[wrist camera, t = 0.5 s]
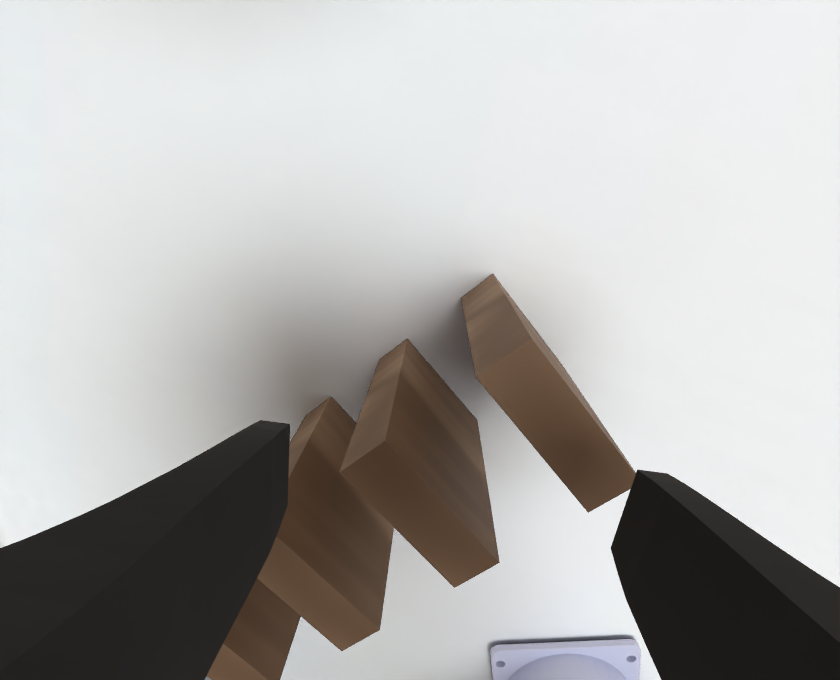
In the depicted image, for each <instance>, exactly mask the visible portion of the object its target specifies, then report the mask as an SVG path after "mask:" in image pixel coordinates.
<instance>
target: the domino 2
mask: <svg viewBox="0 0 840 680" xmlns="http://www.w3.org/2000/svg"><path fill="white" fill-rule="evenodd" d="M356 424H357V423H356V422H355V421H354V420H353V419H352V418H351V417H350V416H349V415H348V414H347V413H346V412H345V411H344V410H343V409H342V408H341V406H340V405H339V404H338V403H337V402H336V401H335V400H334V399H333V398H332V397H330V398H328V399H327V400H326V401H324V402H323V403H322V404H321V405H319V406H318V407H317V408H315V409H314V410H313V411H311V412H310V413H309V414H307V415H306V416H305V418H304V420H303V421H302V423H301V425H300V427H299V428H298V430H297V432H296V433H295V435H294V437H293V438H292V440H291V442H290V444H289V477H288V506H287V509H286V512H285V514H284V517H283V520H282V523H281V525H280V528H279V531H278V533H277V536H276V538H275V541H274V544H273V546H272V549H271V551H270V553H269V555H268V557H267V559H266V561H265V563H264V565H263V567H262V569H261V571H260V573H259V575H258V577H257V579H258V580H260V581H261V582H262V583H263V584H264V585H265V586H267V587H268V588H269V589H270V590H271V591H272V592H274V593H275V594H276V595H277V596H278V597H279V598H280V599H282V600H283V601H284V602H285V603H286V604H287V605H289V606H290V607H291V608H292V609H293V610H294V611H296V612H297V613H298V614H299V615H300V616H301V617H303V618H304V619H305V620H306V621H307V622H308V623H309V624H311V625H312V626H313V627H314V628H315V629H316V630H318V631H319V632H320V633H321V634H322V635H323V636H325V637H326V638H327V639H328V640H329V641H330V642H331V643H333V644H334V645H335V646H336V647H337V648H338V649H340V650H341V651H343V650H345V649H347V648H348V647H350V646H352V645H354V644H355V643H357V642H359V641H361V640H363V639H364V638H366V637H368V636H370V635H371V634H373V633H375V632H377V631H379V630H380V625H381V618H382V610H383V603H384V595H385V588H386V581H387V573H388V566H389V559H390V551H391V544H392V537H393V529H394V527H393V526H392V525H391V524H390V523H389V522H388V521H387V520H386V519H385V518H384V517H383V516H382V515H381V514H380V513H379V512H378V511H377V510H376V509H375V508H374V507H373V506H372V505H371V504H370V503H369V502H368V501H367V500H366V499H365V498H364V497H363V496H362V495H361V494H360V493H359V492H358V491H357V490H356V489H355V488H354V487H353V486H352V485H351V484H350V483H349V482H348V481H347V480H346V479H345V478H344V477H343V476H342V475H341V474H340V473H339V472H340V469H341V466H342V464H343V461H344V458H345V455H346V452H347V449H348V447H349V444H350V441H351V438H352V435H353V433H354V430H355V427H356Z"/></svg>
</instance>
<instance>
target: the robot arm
mask: <svg viewBox="0 0 840 680" xmlns="http://www.w3.org/2000/svg"><path fill="white" fill-rule="evenodd" d="M289 438H290V424H285V423H277V422H270V421H262V420H260V421H258V422H256V423H254V424H252V425H251V426H249V427H247V428H245V429H243V430H242V431H240V432H238V433H236V434H235V435H233V436H231V437H229V438H228V439H226V440H224V441H223V442H221V443H219V444H217V445H216V446H214V447H212V448H210V449H209V450H207V451H205V452H203V453H202V454H200V455H198V456H196V457H194V458H193V459H191V460H189V461H187V462H186V463H184V464H182V465H180V466H179V467H177V468H175V469H173V470H171V471H169V472H167V473H165V474H163V475H161V476H159V477H158V478H156V479H154V480H152V481H150V482H148V483H146V484H144V485H142V486H140V487H138V488H136V489H134V490H132V491H130V492H128V493H126V494H124V495H123V496H121V497H119V498H117V499H115V500H113V501H110V502H108V503H106V504H104V505H102V506H100V507H98V508H96V509H93V510H91V511H89V512H87V513H85V514H82V515H80V516H78V517H76V518H73V519H71V520H69V521H66V522H64V523H62V524H59V525H57V526H55V527H52V528H50V529H48V530H45V531H43V532H41V533H38V534H36V535H33V536H31V537H28V538H26V539H24V540H21V541H19V542H16V543H13V544H11V545H8V546H5V547H2V548H0V680H205V678H206V676H207V674H208V672H209V670H210V668H211V666H212V664H213V662H214V660H215V658H216V656H217V654H218V652H219V650H220V649H221V647H222V645H223V643H224V641H225V639H226V637H227V635H228V633H229V631H230V629H231V627H232V625H233V624H234V622H235V620H236V618H237V616H238V614H239V612H240V610H241V608H242V606H243V604H244V602H245V600H246V599H247V597H248V595H249V593H250V591H251V589H252V587H253V585H254V583H255V581H256V579H257V577H258V575H259V573H260V571H261V569H262V567H263V565H264V563H265V561H266V559H267V557H268V555H269V553H270V551H271V549H272V546H273V544H274V541H275V538H276V536H277V533H278V531H279V528H280V525H281V523H282V520H283V517H284V514H285V512H286V509H287V506H288V477H289ZM611 550H612V554H613V557H614V561H615V564H616V568H617V572H618V575H619V578H620V581H621V585H622V588H623V591H624V594H625V597H626V600H627V602H628V605H629V607H630V609H631V612H632V614H633V616H634V619H635V621H636V623H637V625H638V628H639V630H640V632H641V635H642V637H643V639H644V642H645V644H646V646H647V648H648V651H649V653H650V655H651V657H652V659H653V662H654V664H655V666H656V668H657V671H658V673H659V675H660V677H661V680H840V587H838V586H836V585H835V584H833V583H832V582H830V581H829V580H827V579H825V578H824V577H822V576H821V575H819V574H818V573H816V572H815V571H813V570H812V569H810V568H808V567H807V566H805V565H804V564H802V563H801V562H799V561H798V560H796V559H795V558H793V557H792V556H790V555H789V554H787V553H786V552H784V551H783V550H782V549H780V548H779V547H777V546H776V545H774V544H773V543H771V542H770V541H768V540H767V539H765V538H764V537H762V536H761V535H759V534H758V533H757V532H755V531H754V530H752V529H751V528H749V527H748V526H746V525H745V524H744V523H742V522H741V521H739V520H738V519H736V518H735V517H733V516H732V515H730V514H729V513H728V512H726V511H725V510H723V509H722V508H720V507H719V506H717V505H716V504H714V503H713V502H711V501H710V500H709V499H707V498H706V497H704V496H703V495H701V494H700V493H698V492H697V491H695V490H694V489H692V488H690V487H689V486H687V485H686V484H684V483H682V482H681V481H679V480H678V479H676V478H674V477H672V476H670V475H669V474H666V473H658V472H651V471H643V470H637V472H636V475H635V478H634V481H633V484H632V487H631V490H630V493H629V496H628V499H627V502H626V505H625V508H624V511H623V514H622V516H621V519H620V522H619V525H618V528H617V531H616V534H615V537H614V540H613V543H612V546H611ZM490 655H491V665H492V675H493V680H639V675H640V658H641V649H640V647H639V644H638V643H637V642H636V641H635V640H633V639H619V640H596V641H573V642H550V643H527V644H504V645H495V646H493V647H492V648H491V650H490Z"/></svg>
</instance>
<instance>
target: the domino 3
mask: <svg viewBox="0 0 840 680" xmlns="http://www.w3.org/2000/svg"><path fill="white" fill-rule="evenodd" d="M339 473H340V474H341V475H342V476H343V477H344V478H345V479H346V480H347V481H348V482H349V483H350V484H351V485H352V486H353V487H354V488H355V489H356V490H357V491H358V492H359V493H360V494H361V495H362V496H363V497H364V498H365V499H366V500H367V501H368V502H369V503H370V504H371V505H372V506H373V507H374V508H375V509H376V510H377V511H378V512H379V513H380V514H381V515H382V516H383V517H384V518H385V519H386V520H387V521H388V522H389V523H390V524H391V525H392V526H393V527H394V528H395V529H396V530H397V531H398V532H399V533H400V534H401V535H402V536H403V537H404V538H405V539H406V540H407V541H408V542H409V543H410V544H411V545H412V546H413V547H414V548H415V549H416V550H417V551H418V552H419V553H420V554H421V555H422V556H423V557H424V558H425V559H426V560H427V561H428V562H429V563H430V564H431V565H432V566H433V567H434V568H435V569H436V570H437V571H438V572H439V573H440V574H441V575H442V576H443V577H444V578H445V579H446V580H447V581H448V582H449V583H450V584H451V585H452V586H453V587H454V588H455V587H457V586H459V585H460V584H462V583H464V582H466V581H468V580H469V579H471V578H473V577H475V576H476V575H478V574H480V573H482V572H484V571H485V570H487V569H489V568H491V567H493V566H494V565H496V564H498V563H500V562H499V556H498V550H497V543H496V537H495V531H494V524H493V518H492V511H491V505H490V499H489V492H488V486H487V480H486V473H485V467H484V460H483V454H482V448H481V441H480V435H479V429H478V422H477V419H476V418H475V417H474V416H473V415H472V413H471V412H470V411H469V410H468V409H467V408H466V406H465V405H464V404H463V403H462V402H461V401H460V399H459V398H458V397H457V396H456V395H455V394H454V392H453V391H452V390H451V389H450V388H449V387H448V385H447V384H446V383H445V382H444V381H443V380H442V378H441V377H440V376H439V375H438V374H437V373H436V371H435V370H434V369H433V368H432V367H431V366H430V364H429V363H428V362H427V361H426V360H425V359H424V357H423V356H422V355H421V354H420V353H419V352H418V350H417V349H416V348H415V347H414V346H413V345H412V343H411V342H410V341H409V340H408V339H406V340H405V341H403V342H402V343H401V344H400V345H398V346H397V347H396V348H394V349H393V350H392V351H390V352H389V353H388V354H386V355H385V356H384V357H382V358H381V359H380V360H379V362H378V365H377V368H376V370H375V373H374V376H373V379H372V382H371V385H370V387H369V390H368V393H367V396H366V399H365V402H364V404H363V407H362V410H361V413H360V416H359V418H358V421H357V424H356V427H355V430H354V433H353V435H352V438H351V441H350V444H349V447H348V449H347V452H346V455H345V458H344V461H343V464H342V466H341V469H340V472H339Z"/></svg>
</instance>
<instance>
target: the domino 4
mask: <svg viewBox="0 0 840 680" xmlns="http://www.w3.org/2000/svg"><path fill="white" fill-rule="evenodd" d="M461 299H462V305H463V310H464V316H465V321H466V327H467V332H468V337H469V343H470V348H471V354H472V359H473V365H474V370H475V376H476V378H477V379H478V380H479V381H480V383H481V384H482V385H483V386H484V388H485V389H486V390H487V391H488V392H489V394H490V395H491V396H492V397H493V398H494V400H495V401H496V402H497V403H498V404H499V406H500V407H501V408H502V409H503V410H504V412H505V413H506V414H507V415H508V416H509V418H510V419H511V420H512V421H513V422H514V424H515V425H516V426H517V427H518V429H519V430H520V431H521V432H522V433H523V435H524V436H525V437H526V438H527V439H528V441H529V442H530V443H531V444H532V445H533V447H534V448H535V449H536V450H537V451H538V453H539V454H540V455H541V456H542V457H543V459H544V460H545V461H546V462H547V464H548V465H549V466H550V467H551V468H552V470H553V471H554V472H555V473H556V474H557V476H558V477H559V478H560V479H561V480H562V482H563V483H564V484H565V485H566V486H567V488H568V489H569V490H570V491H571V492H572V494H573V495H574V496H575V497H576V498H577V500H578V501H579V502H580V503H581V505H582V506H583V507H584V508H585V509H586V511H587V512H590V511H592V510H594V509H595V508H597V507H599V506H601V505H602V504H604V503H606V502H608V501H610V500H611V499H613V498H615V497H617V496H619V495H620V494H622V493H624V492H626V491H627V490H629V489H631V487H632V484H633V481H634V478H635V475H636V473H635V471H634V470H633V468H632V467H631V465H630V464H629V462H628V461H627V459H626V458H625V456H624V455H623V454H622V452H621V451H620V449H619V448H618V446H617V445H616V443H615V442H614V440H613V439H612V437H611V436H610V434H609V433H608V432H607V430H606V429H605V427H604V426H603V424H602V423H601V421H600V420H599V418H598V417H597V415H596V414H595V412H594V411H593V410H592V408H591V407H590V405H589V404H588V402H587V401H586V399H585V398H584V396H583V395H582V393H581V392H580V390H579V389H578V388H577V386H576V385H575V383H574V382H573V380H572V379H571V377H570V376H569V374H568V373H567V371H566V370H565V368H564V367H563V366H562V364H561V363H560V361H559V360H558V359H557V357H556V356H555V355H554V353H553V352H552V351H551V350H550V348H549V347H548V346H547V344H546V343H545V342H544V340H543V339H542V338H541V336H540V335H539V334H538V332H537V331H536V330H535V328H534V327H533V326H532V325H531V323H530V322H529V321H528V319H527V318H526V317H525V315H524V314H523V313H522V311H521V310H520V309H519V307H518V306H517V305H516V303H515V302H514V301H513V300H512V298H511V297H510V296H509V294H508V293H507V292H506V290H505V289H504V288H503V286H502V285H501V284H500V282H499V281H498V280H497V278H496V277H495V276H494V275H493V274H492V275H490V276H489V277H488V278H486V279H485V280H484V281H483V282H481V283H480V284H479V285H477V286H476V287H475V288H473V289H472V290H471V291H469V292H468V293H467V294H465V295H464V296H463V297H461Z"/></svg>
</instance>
